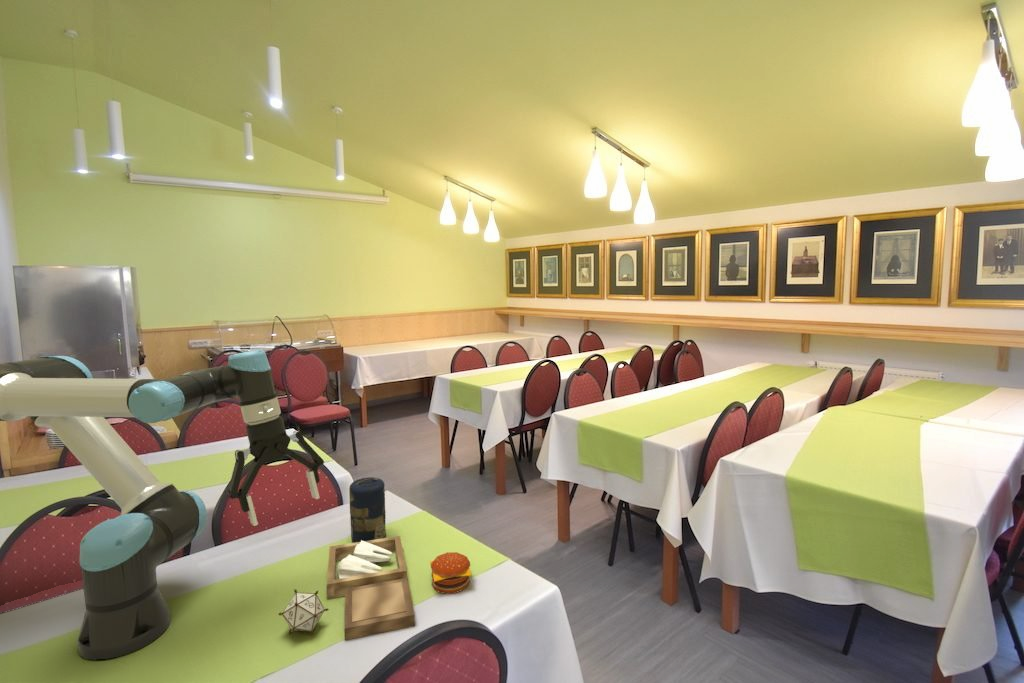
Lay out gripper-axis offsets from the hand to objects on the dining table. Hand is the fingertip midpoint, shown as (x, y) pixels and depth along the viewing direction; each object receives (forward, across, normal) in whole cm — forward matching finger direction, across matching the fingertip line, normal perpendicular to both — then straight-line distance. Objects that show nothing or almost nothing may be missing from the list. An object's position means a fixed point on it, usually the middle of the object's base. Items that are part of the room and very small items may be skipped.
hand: (286, 510), depth 113 cm
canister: (+22, +22, +15) cm, 35 cm away
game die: (+22, -5, -10) cm, 25 cm away
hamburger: (+28, +27, -17) cm, 42 cm away
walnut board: (+25, +9, -15) cm, 30 cm away
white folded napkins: (+23, +15, +1) cm, 28 cm away
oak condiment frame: (+23, +15, +1) cm, 27 cm away
